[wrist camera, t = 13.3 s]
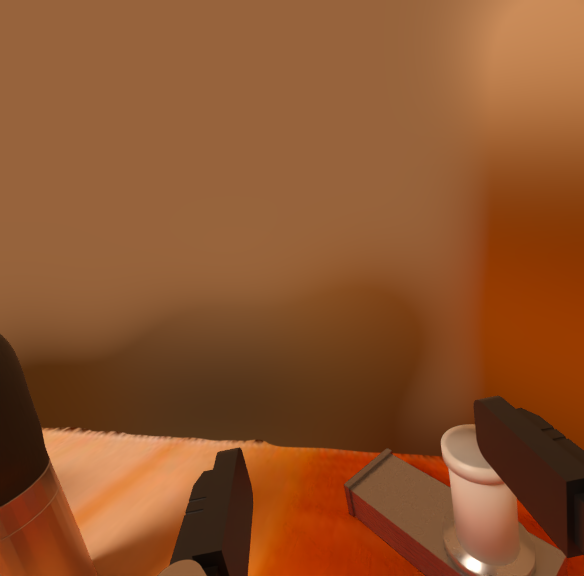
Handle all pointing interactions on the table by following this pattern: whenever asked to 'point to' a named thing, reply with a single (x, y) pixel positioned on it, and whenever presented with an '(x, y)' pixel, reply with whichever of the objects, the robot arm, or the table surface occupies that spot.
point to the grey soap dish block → (432, 523)
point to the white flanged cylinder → (480, 501)
